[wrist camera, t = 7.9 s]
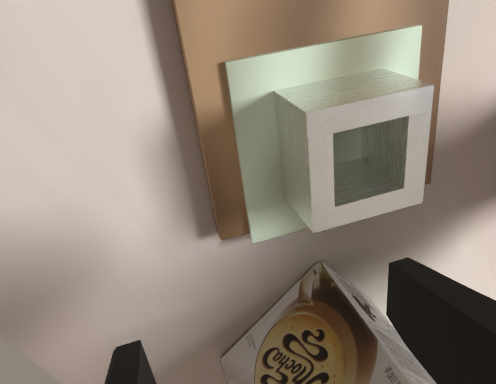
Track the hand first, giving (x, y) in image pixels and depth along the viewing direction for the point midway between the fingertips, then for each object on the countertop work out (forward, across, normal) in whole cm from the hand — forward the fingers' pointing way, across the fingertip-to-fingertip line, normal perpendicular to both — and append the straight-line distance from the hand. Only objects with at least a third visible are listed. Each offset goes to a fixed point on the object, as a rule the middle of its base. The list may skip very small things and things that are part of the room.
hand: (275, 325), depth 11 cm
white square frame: (+9, -6, -1) cm, 11 cm away
